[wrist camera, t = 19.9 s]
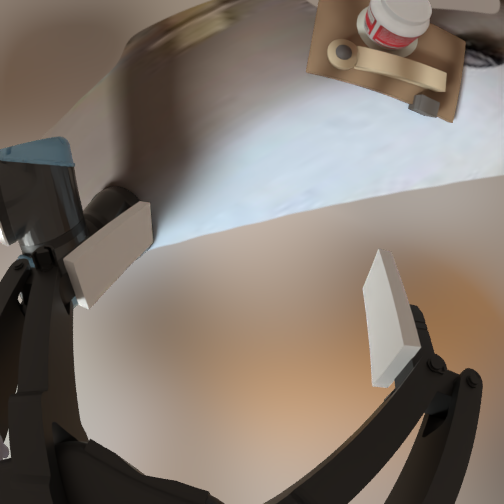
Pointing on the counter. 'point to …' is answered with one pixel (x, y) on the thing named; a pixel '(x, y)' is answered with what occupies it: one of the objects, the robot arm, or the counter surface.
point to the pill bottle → (396, 22)
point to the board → (420, 50)
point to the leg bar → (384, 65)
